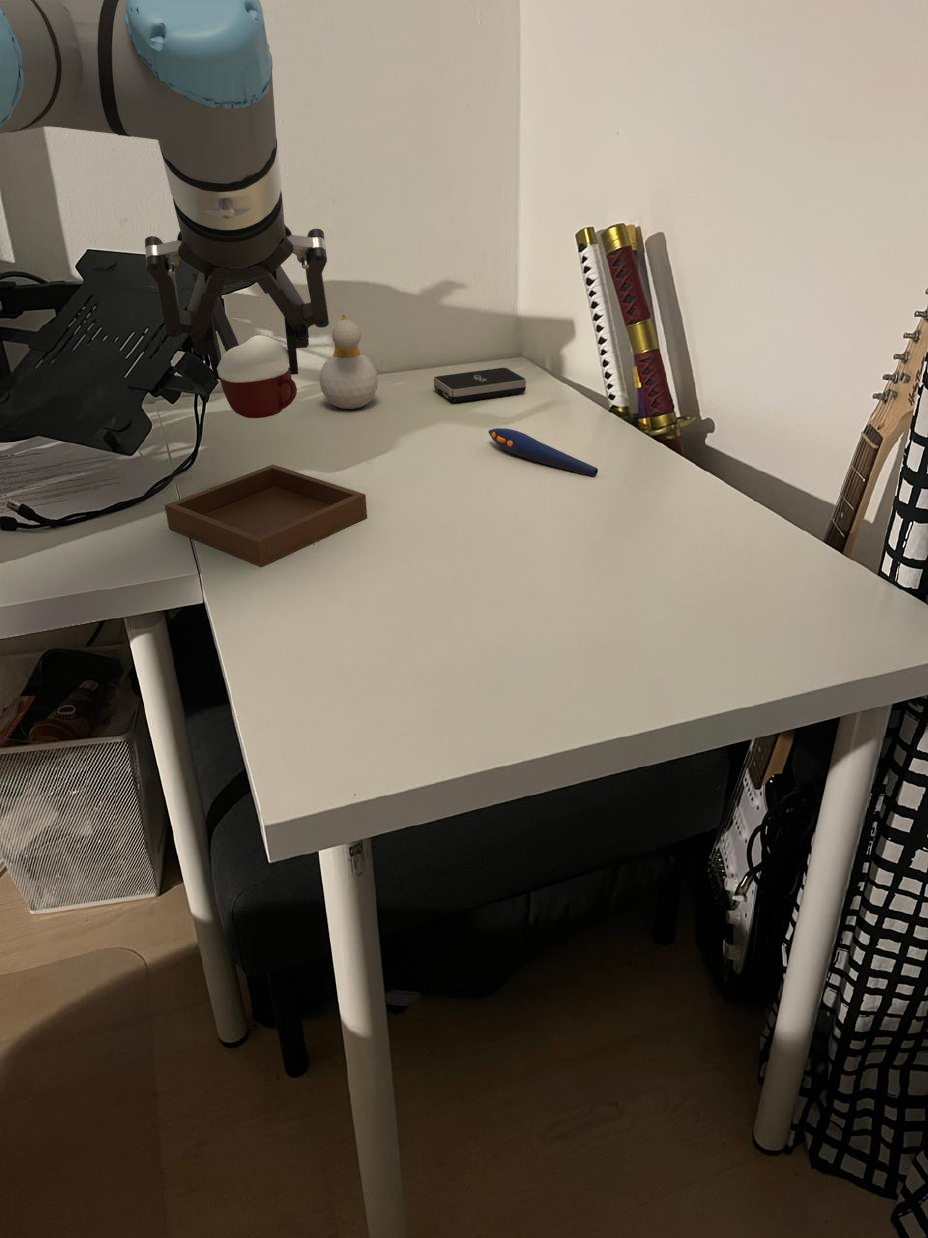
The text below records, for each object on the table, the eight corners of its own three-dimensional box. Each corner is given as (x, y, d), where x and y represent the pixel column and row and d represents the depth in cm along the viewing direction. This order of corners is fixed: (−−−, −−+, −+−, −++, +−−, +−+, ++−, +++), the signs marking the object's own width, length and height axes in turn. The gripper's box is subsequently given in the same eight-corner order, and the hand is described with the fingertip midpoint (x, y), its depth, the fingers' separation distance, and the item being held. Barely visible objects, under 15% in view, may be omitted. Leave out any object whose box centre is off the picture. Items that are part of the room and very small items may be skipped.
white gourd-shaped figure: (363, 394, 131) (357, 303, 125) (397, 412, 124) (392, 317, 118) (312, 403, 128) (303, 310, 122) (344, 423, 121) (337, 325, 115)
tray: (261, 567, 86) (257, 541, 85) (168, 528, 94) (164, 504, 93) (367, 517, 96) (365, 494, 94) (275, 486, 103) (272, 463, 102)
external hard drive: (432, 391, 132) (432, 376, 131) (506, 381, 136) (506, 366, 135) (452, 405, 126) (451, 390, 125) (528, 394, 130) (528, 379, 129)
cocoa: (312, 418, 86) (298, 277, 80) (246, 432, 83) (226, 287, 77) (268, 393, 93) (252, 262, 87) (206, 405, 90) (185, 270, 84)
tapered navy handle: (602, 483, 106) (607, 462, 105) (583, 486, 103) (588, 464, 102) (496, 440, 115) (500, 419, 114) (476, 441, 112) (480, 420, 111)
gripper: (86, 243, 65) (151, 407, 87) (370, 230, 68) (363, 393, 90) (81, 149, 67) (146, 334, 89) (358, 141, 70) (354, 321, 92)
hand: (255, 363), depth 89 cm, fingers closed on cocoa, 6 cm apart
